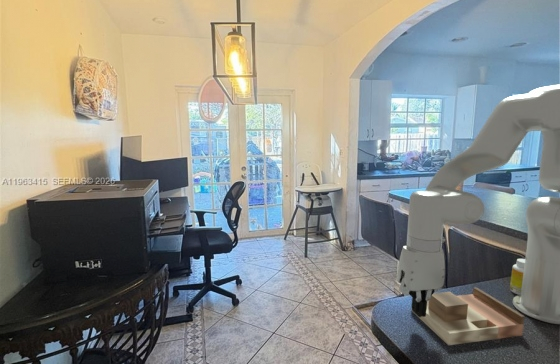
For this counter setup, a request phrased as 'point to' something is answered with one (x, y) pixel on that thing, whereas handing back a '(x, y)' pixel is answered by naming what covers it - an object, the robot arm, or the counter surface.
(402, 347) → the counter surface
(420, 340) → the counter surface
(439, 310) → the block
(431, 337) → the counter surface
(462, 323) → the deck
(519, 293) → the supplement bottle
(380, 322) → the counter surface
